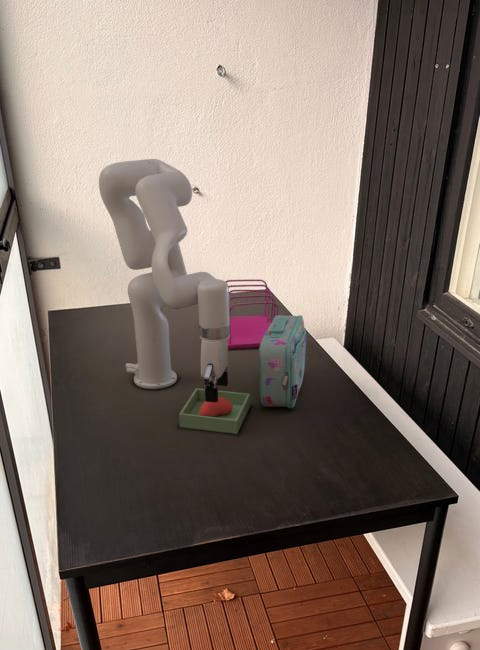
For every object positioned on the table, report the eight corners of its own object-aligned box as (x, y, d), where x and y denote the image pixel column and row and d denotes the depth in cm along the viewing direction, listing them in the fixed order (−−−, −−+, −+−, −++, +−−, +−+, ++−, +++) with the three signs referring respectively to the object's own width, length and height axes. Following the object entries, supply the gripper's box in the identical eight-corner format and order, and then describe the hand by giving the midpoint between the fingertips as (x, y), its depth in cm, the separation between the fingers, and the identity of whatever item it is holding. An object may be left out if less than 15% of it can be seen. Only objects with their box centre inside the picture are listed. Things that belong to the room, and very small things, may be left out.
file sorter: (267, 319, 233) (268, 277, 225) (280, 346, 212) (281, 300, 204) (219, 322, 231) (218, 279, 223) (227, 349, 210) (227, 303, 202)
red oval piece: (198, 415, 174) (192, 402, 169) (227, 399, 175) (222, 386, 169) (206, 429, 171) (200, 416, 166) (236, 413, 172) (231, 399, 167)
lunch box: (294, 418, 170) (298, 342, 160) (256, 414, 172) (257, 339, 162) (306, 375, 193) (309, 306, 182) (272, 372, 195) (273, 304, 184)
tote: (179, 427, 166) (179, 414, 165) (196, 400, 179) (196, 388, 177) (237, 434, 163) (237, 420, 161) (250, 406, 176) (250, 393, 174)
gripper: (209, 318, 167) (211, 378, 175) (189, 342, 152) (193, 407, 161) (237, 320, 166) (238, 380, 174) (220, 344, 151) (222, 409, 159)
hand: (216, 393), depth 167 cm, fingers open, 9 cm apart
